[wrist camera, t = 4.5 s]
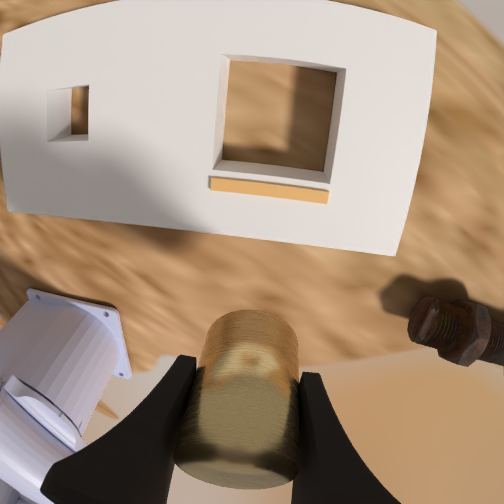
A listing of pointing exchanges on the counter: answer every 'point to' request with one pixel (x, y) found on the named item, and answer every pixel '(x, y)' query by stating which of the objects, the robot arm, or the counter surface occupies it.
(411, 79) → the fitting plate
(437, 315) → the bolt
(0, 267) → the counter surface
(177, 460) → the brass cylinder
